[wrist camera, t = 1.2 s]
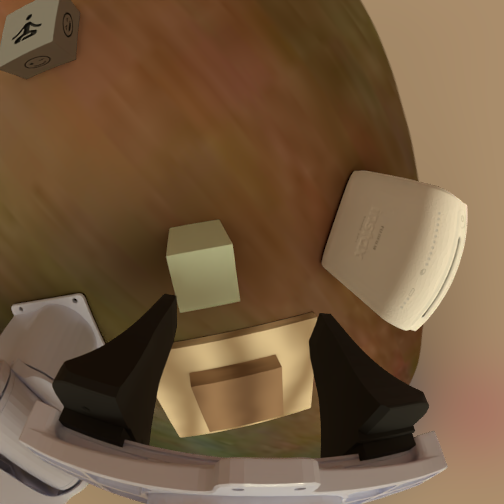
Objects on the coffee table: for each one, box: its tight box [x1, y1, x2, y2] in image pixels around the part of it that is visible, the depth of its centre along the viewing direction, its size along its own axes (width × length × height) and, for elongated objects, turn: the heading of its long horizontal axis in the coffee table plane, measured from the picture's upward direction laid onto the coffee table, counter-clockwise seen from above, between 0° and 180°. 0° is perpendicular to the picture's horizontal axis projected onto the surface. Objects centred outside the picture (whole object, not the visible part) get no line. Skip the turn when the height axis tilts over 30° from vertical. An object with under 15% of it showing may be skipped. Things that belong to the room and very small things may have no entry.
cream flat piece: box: [157, 312, 317, 438], centre depth 28 cm, size 18×16×3 cm
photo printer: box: [322, 170, 467, 331], centre depth 19 cm, size 10×4×12 cm, turn 163°
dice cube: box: [0, 0, 80, 79], centre depth 10 cm, size 5×5×5 cm
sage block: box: [166, 219, 240, 313], centre depth 20 cm, size 4×4×6 cm
